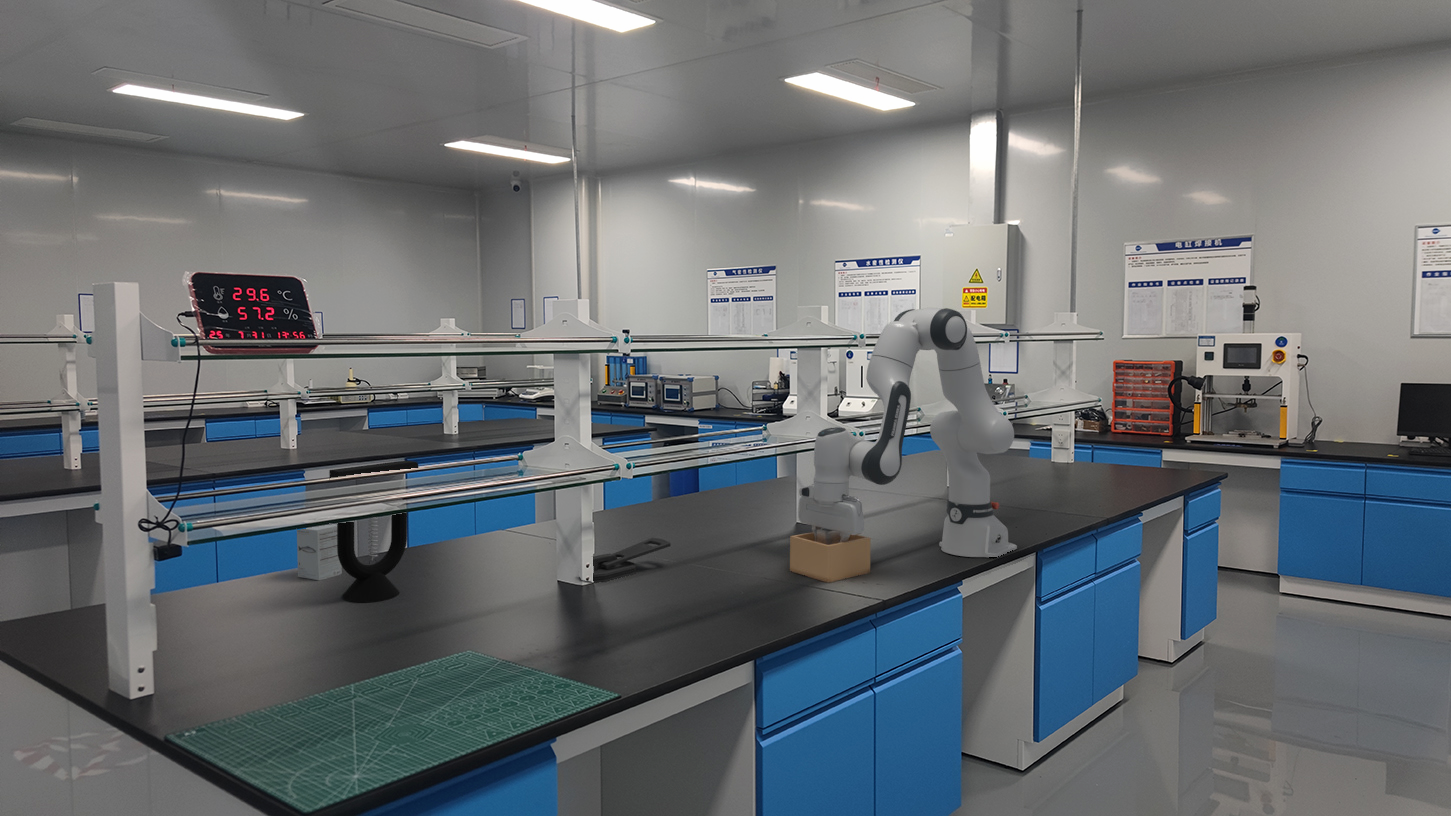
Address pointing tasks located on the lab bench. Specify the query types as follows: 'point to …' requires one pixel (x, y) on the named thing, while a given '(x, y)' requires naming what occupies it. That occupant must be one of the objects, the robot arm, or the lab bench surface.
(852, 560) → the open box
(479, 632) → the lab bench surface
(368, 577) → the spring support
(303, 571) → the supplement box
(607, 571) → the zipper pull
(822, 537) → the aluminium bracket
